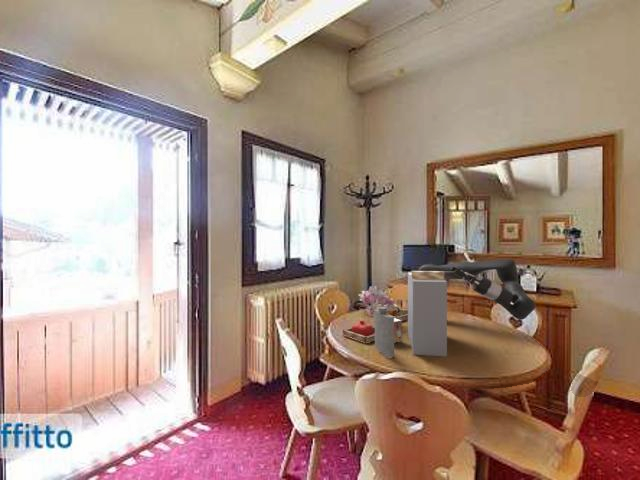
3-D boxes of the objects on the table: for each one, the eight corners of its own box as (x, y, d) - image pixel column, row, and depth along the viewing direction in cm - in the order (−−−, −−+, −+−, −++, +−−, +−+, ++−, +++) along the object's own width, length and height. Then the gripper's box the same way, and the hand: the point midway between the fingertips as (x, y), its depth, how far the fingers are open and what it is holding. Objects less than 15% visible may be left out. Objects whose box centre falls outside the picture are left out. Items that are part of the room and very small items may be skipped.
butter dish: (346, 336, 173) (346, 319, 173) (361, 331, 181) (361, 316, 180) (362, 341, 164) (362, 324, 164) (378, 336, 172) (378, 320, 171)
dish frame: (341, 335, 173) (341, 329, 173) (363, 329, 184) (363, 323, 184) (366, 344, 160) (366, 338, 160) (388, 336, 171) (388, 331, 170)
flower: (412, 326, 183) (400, 282, 193) (382, 329, 170) (371, 282, 180) (387, 334, 198) (376, 293, 207) (358, 337, 185) (348, 293, 195)
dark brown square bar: (461, 278, 152) (461, 271, 152) (463, 279, 149) (463, 272, 149) (411, 277, 156) (411, 270, 156) (411, 278, 153) (411, 271, 153)
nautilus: (407, 321, 200) (383, 324, 198) (395, 311, 221) (373, 313, 219) (407, 308, 199) (382, 311, 197) (395, 299, 220) (372, 301, 218)
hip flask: (395, 358, 143) (395, 311, 142) (386, 359, 142) (386, 311, 141) (380, 345, 158) (379, 303, 158) (372, 346, 157) (371, 303, 157)
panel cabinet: (435, 333, 175) (435, 271, 174) (446, 356, 144) (447, 281, 143) (407, 332, 178) (407, 271, 177) (413, 354, 147) (412, 280, 146)
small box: (389, 344, 159) (389, 322, 159) (381, 341, 164) (381, 319, 164) (402, 341, 163) (402, 320, 163) (394, 338, 168) (394, 317, 168)
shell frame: (363, 314, 215) (363, 309, 215) (383, 309, 228) (383, 305, 228) (397, 323, 195) (397, 317, 195) (417, 316, 208) (417, 312, 208)
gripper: (487, 278, 155) (454, 260, 157) (497, 283, 141) (461, 263, 143) (478, 292, 156) (446, 274, 158) (487, 298, 142) (452, 278, 144)
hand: (453, 269), depth 151 cm, fingers open, 8 cm apart
